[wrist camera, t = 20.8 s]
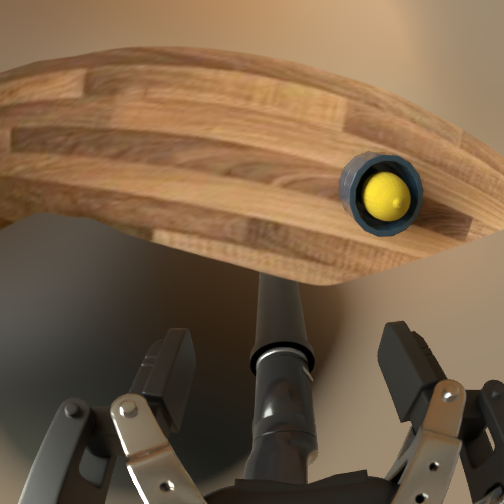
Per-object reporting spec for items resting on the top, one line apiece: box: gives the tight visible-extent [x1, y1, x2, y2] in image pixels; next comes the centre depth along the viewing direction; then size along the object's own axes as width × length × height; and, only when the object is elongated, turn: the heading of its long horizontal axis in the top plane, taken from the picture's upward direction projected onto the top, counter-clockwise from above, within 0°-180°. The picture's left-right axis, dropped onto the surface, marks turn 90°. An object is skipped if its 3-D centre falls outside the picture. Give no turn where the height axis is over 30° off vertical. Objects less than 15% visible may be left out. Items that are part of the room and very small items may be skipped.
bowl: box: [339, 151, 423, 237], centre depth 31 cm, size 9×9×6 cm
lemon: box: [361, 171, 410, 221], centre depth 29 cm, size 6×6×8 cm
